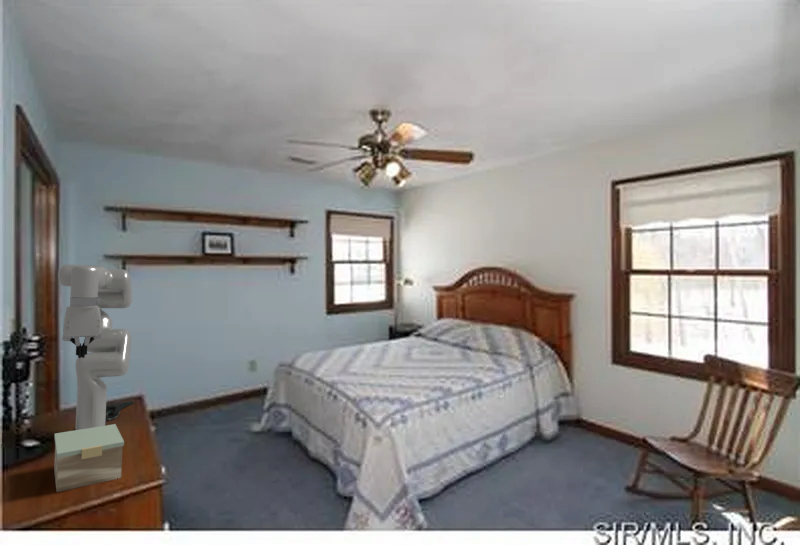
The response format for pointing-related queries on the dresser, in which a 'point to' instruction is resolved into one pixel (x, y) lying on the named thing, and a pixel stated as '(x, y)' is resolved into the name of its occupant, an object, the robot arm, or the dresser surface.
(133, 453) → the dresser surface
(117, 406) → the sculpture
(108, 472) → the box
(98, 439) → the lid
